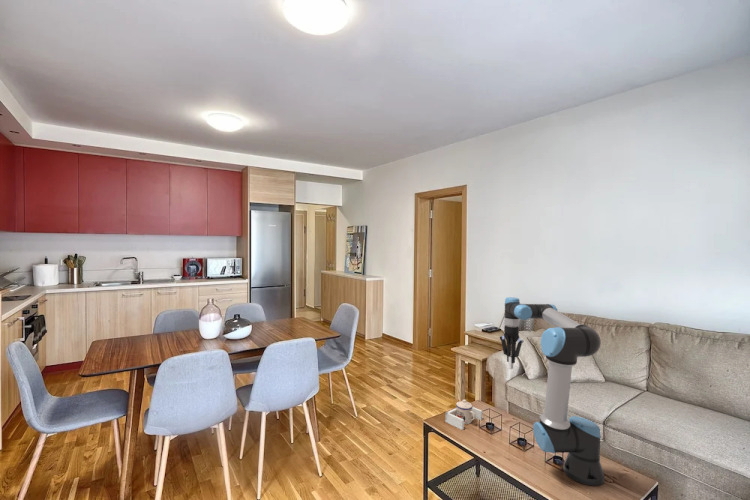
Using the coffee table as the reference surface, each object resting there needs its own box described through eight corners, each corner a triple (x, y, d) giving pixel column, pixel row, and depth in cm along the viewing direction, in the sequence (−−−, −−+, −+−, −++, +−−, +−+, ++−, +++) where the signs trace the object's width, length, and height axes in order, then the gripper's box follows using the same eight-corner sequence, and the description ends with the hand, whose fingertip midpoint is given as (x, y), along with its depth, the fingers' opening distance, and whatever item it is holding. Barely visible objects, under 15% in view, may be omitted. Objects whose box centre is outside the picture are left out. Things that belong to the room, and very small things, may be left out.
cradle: (482, 419, 203) (482, 410, 203) (462, 429, 190) (462, 420, 190) (465, 412, 211) (465, 403, 211) (444, 421, 199) (445, 412, 199)
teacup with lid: (452, 419, 202) (452, 398, 202) (463, 415, 207) (463, 395, 207) (468, 428, 192) (469, 406, 192) (479, 424, 197) (480, 403, 197)
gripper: (526, 326, 194) (525, 370, 194) (503, 322, 204) (503, 364, 204) (519, 328, 189) (519, 373, 189) (497, 324, 199) (496, 366, 199)
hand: (510, 368), depth 196 cm, fingers closed
